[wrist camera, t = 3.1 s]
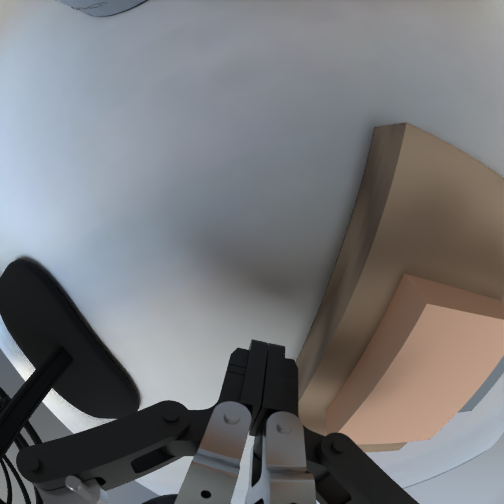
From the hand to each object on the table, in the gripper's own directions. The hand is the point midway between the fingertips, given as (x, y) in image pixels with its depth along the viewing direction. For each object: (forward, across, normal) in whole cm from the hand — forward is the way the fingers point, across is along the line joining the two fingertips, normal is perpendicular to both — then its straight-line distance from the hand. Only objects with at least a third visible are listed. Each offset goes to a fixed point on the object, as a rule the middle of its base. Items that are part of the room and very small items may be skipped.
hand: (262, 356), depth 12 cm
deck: (+5, -9, 0) cm, 10 cm away
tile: (+1, -9, 0) cm, 9 cm away
